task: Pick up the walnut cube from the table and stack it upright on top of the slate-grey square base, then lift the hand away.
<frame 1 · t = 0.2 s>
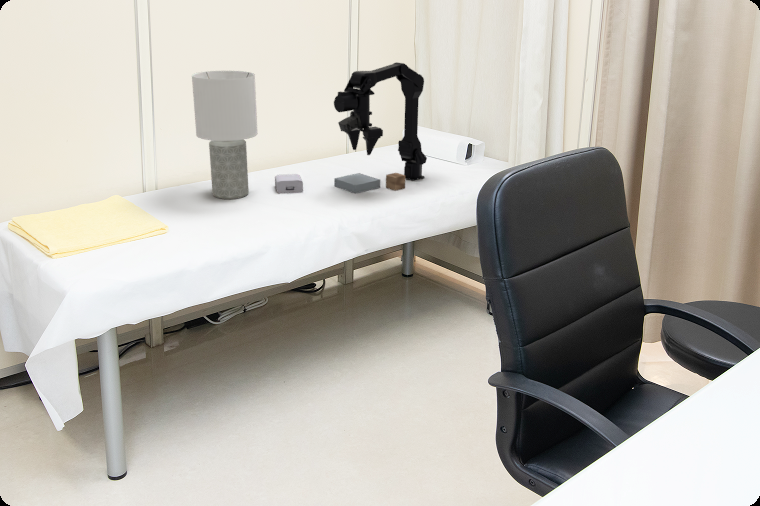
hand: (361, 152, 264), 14 cm above the table, fingers open, 9 cm apart
lamp: (230, 194, 262), on the table
walnut cube: (395, 188, 273), on the table
grey base: (357, 186, 274), on the table
charger: (288, 188, 272), on the table
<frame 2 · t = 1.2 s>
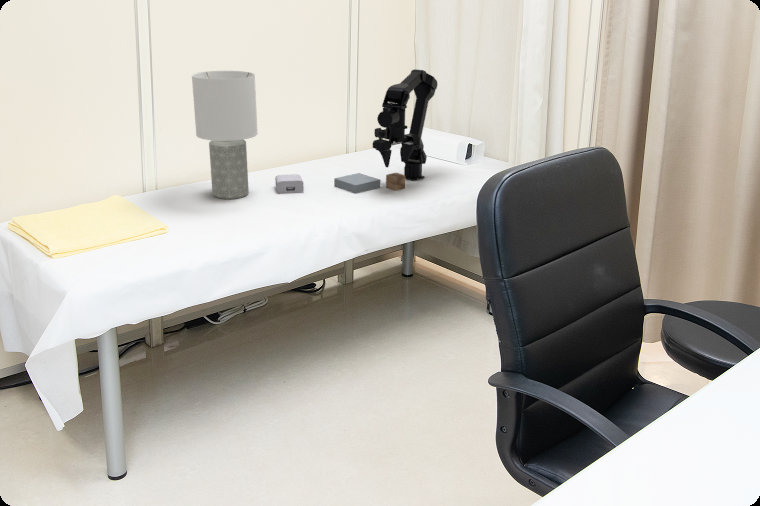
hand: (396, 165, 270), 9 cm above the table, fingers open, 9 cm apart
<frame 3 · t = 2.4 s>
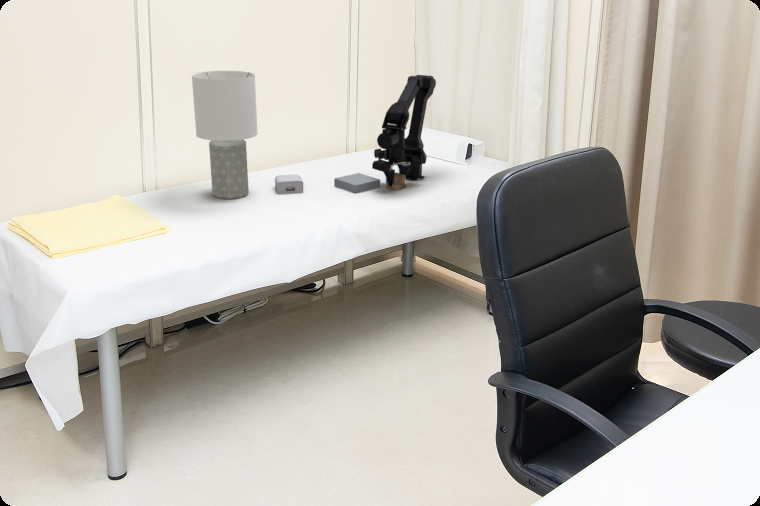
hand: (395, 185, 273), 1 cm above the table, fingers closed on walnut cube, 5 cm apart
walnut cube: (395, 187, 273), on the table, touching gripper
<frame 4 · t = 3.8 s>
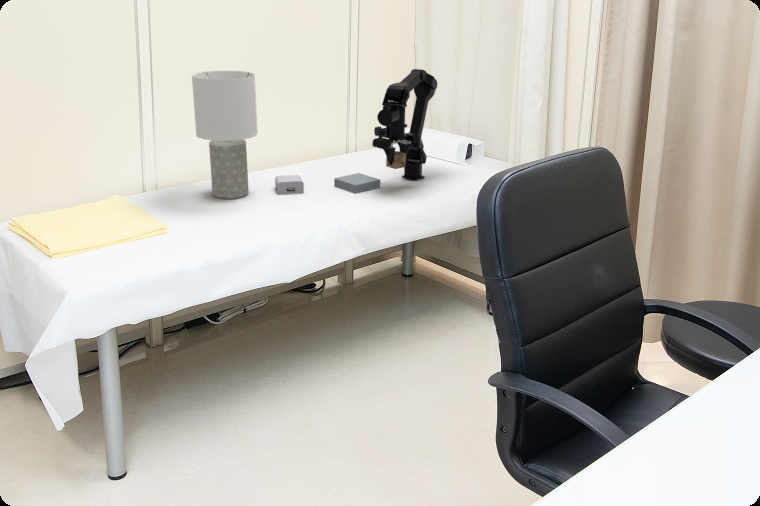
hand: (395, 163, 270), 9 cm above the table, fingers closed on walnut cube, 5 cm apart
walnut cube: (395, 166, 270), point 8 cm above the table, touching gripper
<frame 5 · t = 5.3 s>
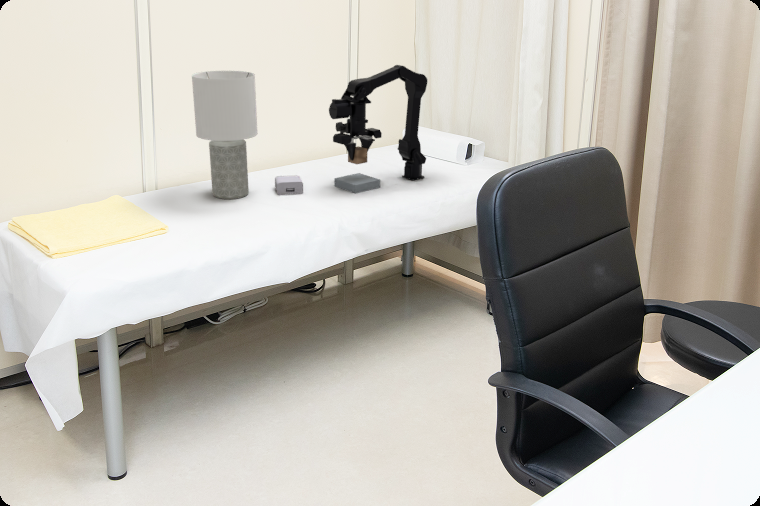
hand: (357, 159, 270), 10 cm above the table, fingers closed on walnut cube, 5 cm apart
walnut cube: (357, 162, 270), point 9 cm above the table, touching gripper
when the fingers open (5 cm above the table, at t = 6.5 s): walnut cube drops 1 cm, resting on grey base.
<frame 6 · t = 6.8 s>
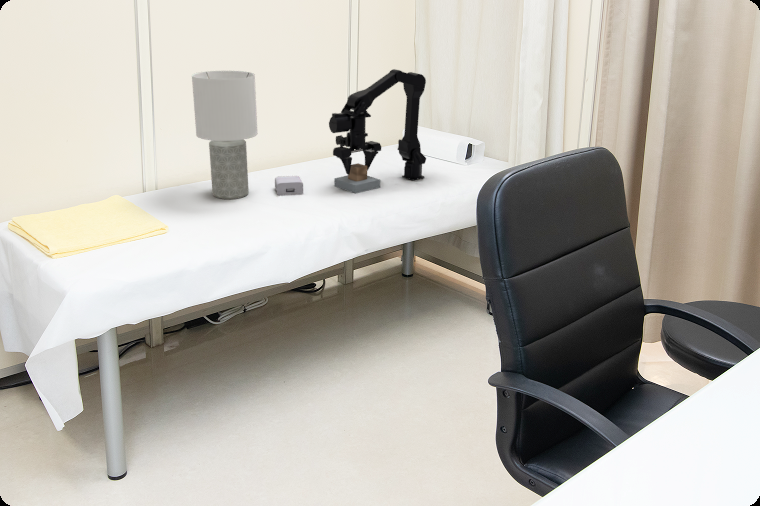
hand: (357, 172, 272), 5 cm above the table, fingers open, 9 cm apart
walnut cube: (357, 178, 272), point 3 cm above the table, touching grey base
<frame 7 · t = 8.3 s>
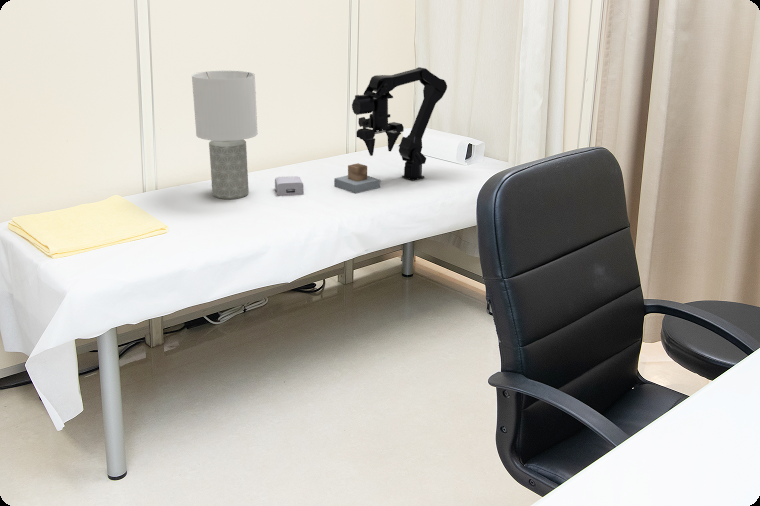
hand: (380, 153, 275), 11 cm above the table, fingers open, 9 cm apart
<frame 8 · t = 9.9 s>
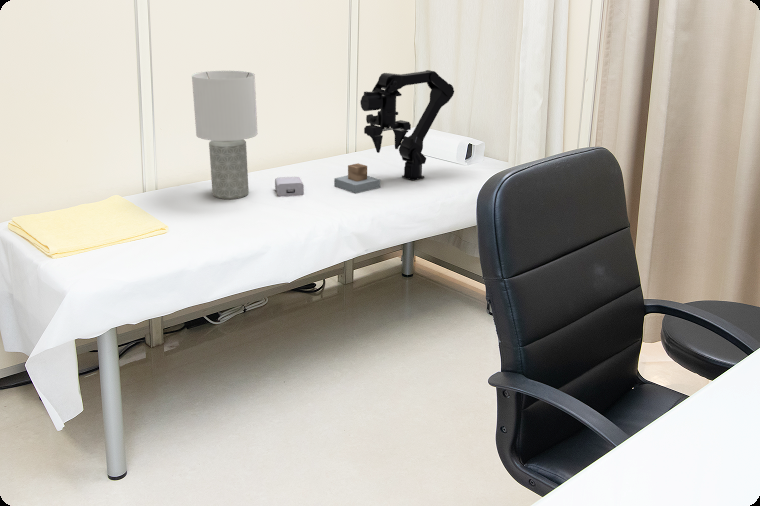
hand: (387, 150, 276), 12 cm above the table, fingers open, 9 cm apart
at the end: walnut cube 0.1 cm off-centre on the grey base, point 3.0 cm above the grey base's base; walnut cube tilted 0°; the gripper is holding nothing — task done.
